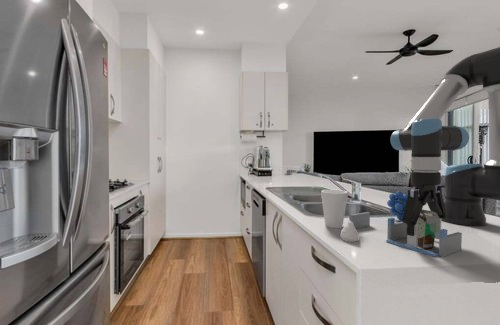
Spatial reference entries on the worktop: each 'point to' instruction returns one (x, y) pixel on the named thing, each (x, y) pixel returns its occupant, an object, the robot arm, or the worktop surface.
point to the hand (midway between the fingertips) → (424, 242)
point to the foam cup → (334, 207)
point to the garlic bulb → (349, 233)
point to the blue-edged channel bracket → (398, 230)
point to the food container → (426, 229)
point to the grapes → (397, 204)
